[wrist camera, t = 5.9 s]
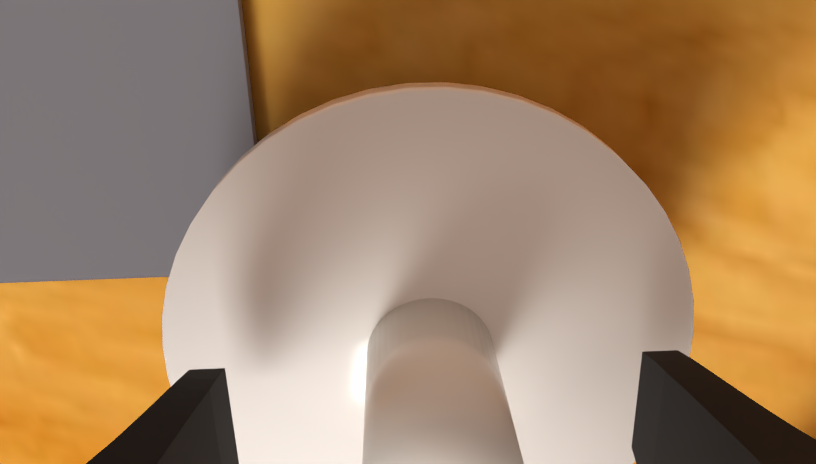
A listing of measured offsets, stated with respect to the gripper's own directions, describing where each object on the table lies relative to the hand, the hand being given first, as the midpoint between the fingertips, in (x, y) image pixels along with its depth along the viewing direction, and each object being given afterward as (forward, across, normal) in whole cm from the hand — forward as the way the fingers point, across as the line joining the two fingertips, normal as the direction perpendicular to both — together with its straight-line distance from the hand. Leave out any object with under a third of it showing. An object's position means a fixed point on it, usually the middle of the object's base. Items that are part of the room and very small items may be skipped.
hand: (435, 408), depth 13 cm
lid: (+2, 0, 0) cm, 2 cm away
